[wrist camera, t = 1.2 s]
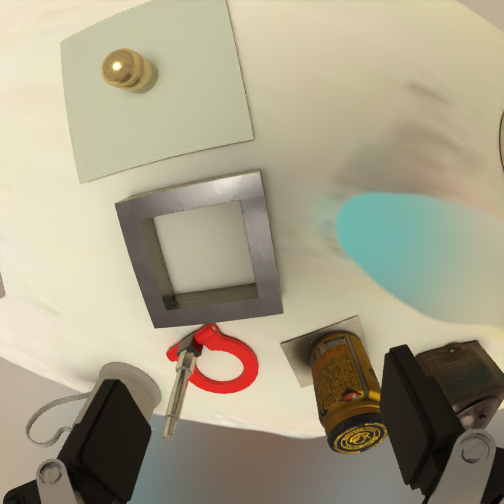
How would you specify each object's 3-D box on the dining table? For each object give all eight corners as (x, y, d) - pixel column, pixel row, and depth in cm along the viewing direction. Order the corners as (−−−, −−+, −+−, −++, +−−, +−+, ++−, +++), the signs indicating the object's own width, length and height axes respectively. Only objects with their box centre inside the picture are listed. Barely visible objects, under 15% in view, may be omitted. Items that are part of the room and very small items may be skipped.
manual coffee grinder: (480, 334, 30) (552, 426, 13) (456, 393, 34) (503, 482, 17) (378, 354, 31) (433, 487, 14) (363, 415, 35) (393, 528, 18)
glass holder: (162, 415, 36) (134, 506, 22) (73, 389, 36) (29, 462, 22) (159, 371, 33) (119, 475, 19) (60, 343, 33) (0, 420, 19)
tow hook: (273, 366, 32) (217, 313, 30) (279, 466, 20) (197, 418, 18) (218, 395, 35) (162, 350, 32) (207, 486, 23) (129, 444, 20)
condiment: (370, 362, 32) (401, 443, 20) (301, 386, 33) (310, 472, 22) (357, 314, 29) (396, 398, 18) (279, 342, 31) (284, 434, 19)
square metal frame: (259, 168, 25) (259, 172, 22) (281, 296, 29) (283, 313, 26) (129, 196, 26) (114, 203, 23) (163, 312, 30) (154, 328, 27)
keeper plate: (223, -11, 19) (221, -18, 18) (254, 139, 24) (253, 139, 23) (68, 45, 21) (60, 42, 19) (88, 181, 25) (80, 184, 24)
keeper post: (155, 56, 20) (129, 37, 15) (160, 87, 21) (134, 74, 16) (123, 67, 20) (91, 53, 15) (128, 98, 21) (95, 90, 16)
